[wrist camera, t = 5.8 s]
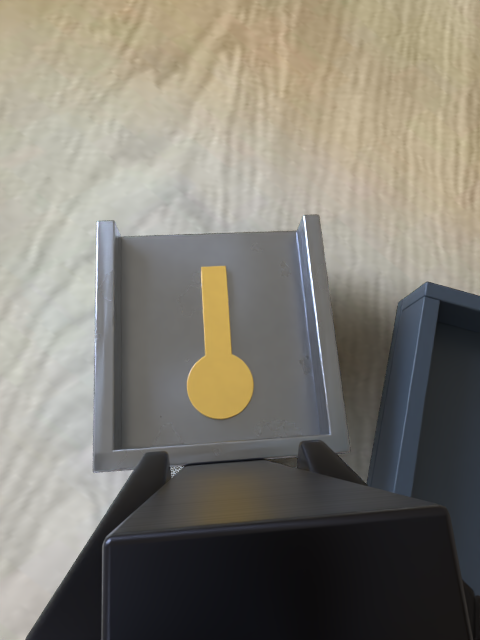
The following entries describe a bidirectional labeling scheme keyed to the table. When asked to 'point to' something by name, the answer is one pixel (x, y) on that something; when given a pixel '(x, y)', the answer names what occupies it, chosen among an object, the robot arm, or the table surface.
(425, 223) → the table surface
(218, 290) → the spoon
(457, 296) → the tray
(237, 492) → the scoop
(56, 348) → the table surface
